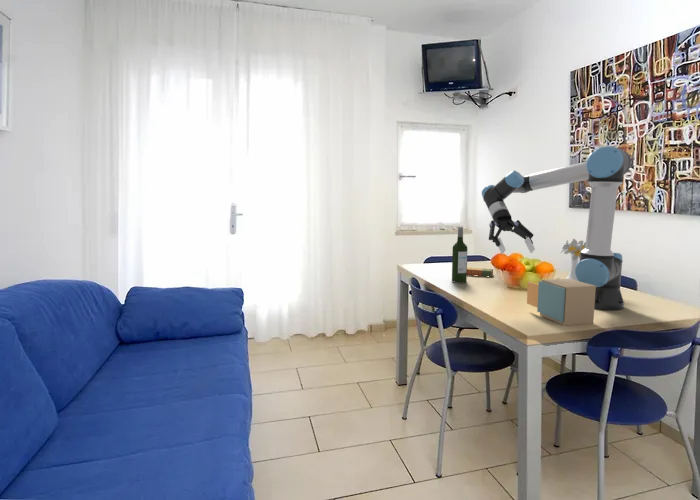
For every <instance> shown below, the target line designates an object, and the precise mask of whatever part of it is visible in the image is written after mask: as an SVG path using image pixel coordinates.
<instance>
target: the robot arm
mask: <svg viewBox="0 0 700 500" xmlns="http://www.w3.org/2000/svg"><path fill="white" fill-rule="evenodd" d="M631 166H632V157H631V156H630V154H629V153H628V152H627V151H625V150H624V149H622V148H618V147H616V146H611V145H610V146H609V145H607V146H600V147H598V148H596V149H594V150H593V151H592V152H590V154H589V155H588V156H587V159H586V161H583V162H579V163H574V164H570V165H565V166H562V167H557V168H552V169H548V170H543V171H539V172H535V173H531V174H527V175H522V174H521V173H520V172H519V171H516V170H512V171H509V173H507V174H506V175H505V176H504V177H503V178H501V180H499V182H497V183H496V184H495V185H494V184H489V185H488V186H485V187H484V188H483V189H482V190H481V196H482V199H483V201H484V203H485V206H486V208H487V209H488V212H489V215H490V216H491V219H492V220H491V221H490V223H489V224H488V225H489V234H488V235H489V236H488V240H489V241H491V242H492V243H494V244H495V245H496V247H498V250H499V252H500V254H501V255H503V254H504V253H505V252H506V250H507V249H506V248H505V245H504V243H503V241H502V239H501V237H499V236H500V235H501V233H502V231H503V232H511V233H514V234H516V235H518V236H519V237H520V238H522V239H523V240H524V243H525V245H526V247H527V250H528V251H529V253H530V254H532V253H534V251H535V250H536V248H535V246H534V242H533V240H532V238H533V237H534V233H532V232H531V231H530V230H529V229H528V228H527V227H526V226H525V225H524V224H522V223H521V221H520V220H518V219H517V220H516V221H514V220H513V219H512V215H511V213H510V211H509V209H508V207H507V204H506V203H505V199H507V198H508V197H509V196H510V195H512V194H515V193H518V194H526V193H529V192H532V191H538V190H541V189H547V188H553V187H556V186H561V185H563V186H564V185H568V184H571V183H572V184H573V183H578V182H581V181H582V182H583V181H587V183H588V184H589V186H591V191H590V192H591V193H590V200H589V211H588V220H587V227H586V228H587V229H586V236H585V237H586V238H585V242H586V246H585V248H584V249H583V250H582V251H581V252H580V258H579V260H578V264H577V266H576V268H575V275H576V278H577V280H578V281H580V282H583V283H587V284H591V285H595V286H596V291H595V306H594V309H597V310H603V311H604V310H606V311H607V310H608V311H620V310H623V309H624V307H625V302H624V298H623V294H622V292H621V280H622V279H621V278H622V269H623V268H622V267H623V261H624V260H623V255H622V254H621V253H619V252H613V251H612V250H611V246H612V239H613V230H614V222H615V213H616V205H617V196H618V188H619V186H621V185H622V184H623V183H624V177H625V175H626V174H627V173H628V171H629V170H630V168H631ZM496 227H497V228H498V229H497V231H496V234H495V229H496Z"/></svg>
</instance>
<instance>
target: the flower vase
mask: <svg viewBox="0 0 700 500" xmlns="http://www.w3.org/2000/svg"><path fill="white" fill-rule="evenodd" d="M585 246H586V241H585V242H584V240H582V239H581V240H579V241H577V240H576V239H575V238H572V241H571V242H570V243H569V240H568V239H567V240H566V243H565V244H563V246H562V249H561V252H560V254H562V253H563V252H564V253H563V255H568V254H570V256H571V257H570V258H571V260H570V262H571V263H570V271H569V273H568V276H567V277H565V278H564V279H572V280H576V281H578V280H577V278H576V275H575V268H576V266H577V264H578V263H579V260H580V252H581V251H582V250H583V249H584V248H585Z"/></svg>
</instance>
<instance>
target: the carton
mask: <svg viewBox="0 0 700 500" xmlns="http://www.w3.org/2000/svg"><path fill="white" fill-rule="evenodd" d="M467 275H478V276H489V277H488V278H493V276H494V269H493V268H483V267H482V268H481V267H480V268H479V267H468V266H467ZM492 275H493V276H492ZM478 276H477V277H478Z"/></svg>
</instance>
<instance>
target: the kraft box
mask: <svg viewBox="0 0 700 500" xmlns="http://www.w3.org/2000/svg"><path fill="white" fill-rule="evenodd" d="M541 281H542V282H545V283H548V284H551V285H555V286H558V287H561V288H564V289H565V303H564V320H563V322H561V321H559V320H556V319H554V318H552V317H549V316H547V315H545V314H542V313H540V312H539V316H541V317H543V318H546V319H548V320H551V321H553V322H555V323H557V324H560V325H562V326H573V325H575V326H576V325H591V324H594V319H595V318H594V317H595V308H594V306H595V291H596V286H595V285H591V284H587V283H583V282H580V281H576V280H572V279H565V278H555V279H554V278H553V279H552V278H551V279H541Z"/></svg>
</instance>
